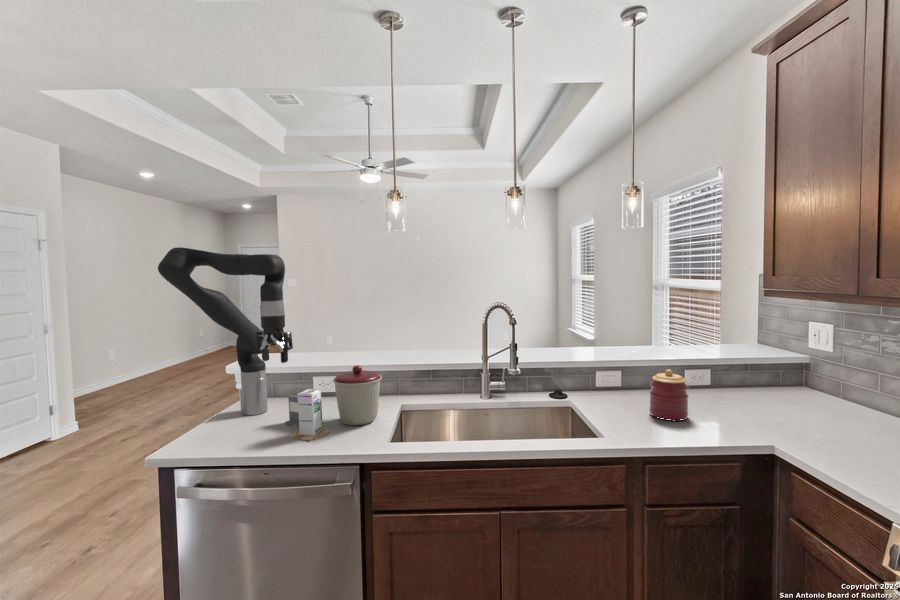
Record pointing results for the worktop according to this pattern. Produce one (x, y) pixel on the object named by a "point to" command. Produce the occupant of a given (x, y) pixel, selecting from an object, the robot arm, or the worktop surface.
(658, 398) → the canister
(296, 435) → the coaster
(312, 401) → the syrup box
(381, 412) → the worktop surface
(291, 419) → the label board
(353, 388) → the canister
